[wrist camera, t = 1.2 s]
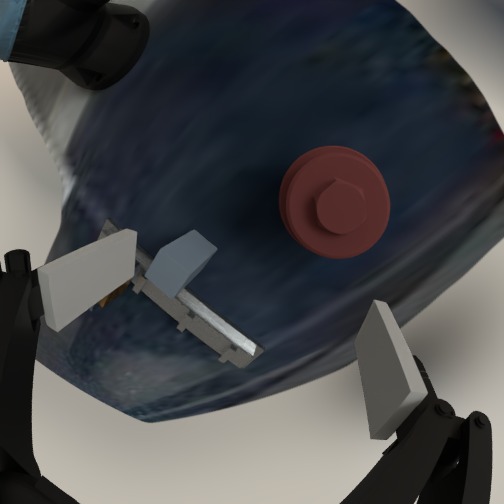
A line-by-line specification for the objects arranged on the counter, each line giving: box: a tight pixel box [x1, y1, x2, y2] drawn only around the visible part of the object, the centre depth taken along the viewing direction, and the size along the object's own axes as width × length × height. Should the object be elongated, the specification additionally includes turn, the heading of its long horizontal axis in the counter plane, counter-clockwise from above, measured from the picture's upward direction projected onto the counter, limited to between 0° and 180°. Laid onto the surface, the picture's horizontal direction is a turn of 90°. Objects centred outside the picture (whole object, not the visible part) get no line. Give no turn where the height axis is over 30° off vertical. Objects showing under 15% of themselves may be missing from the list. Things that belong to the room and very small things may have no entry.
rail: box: [89, 218, 265, 368], centre depth 33 cm, size 30×5×12 cm, turn 52°
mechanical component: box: [279, 146, 390, 259], centre depth 25 cm, size 12×10×10 cm
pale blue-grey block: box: [144, 230, 217, 299], centre depth 32 cm, size 5×4×9 cm
